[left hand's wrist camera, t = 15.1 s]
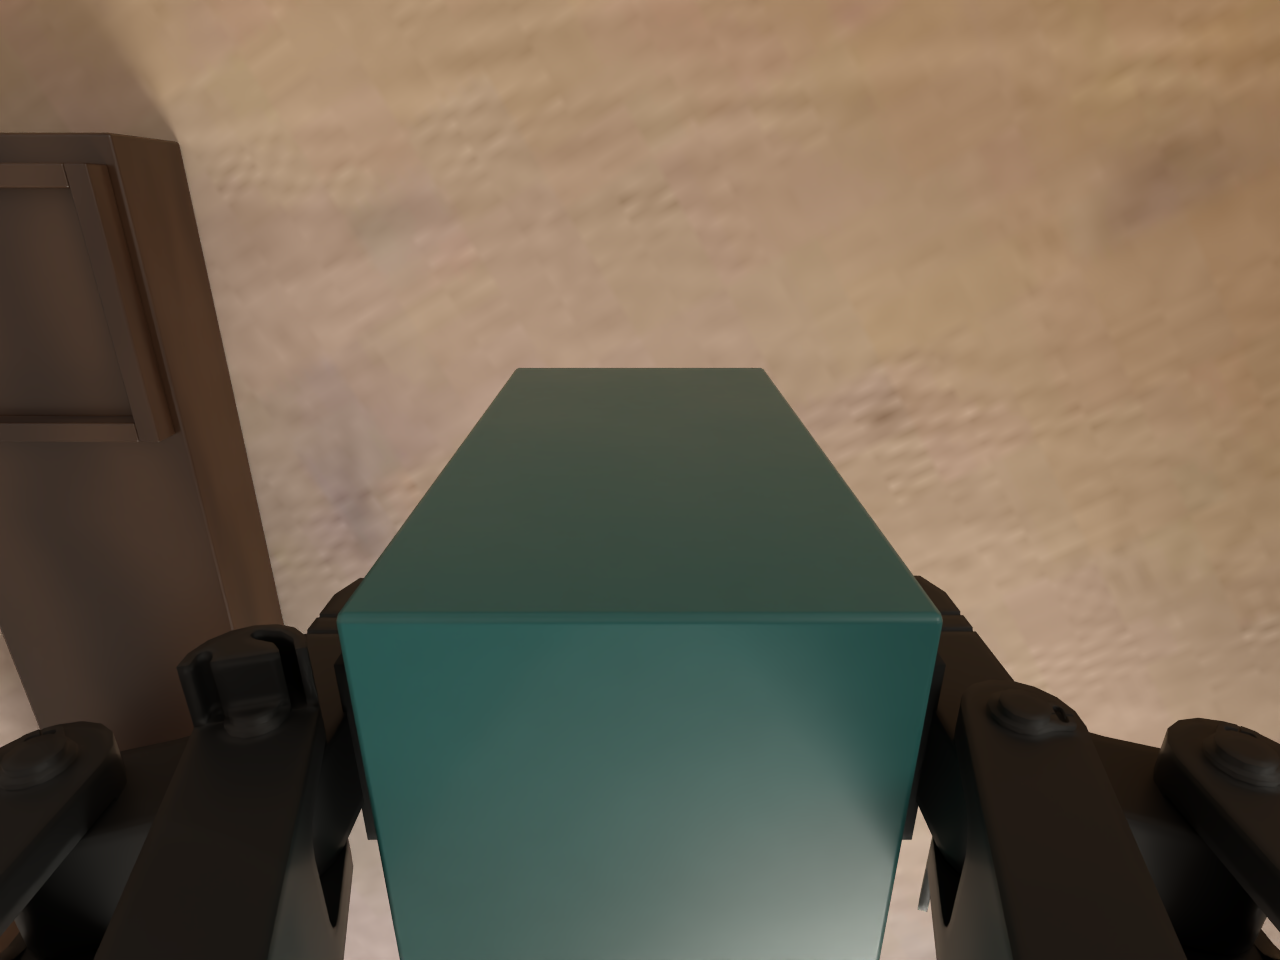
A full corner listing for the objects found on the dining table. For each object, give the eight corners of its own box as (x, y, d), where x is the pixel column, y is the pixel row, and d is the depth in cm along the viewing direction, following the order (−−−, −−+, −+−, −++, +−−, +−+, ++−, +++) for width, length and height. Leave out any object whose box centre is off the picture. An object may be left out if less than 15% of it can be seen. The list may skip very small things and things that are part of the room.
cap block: (764, 367, 16) (948, 617, 6) (749, 584, 18) (871, 1014, 8) (515, 367, 16) (330, 616, 6) (529, 583, 18) (407, 1014, 8)
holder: (180, 142, 21) (-187, 93, 12) (337, 867, 32) (212, 1139, 23) (-86, 141, 21) (-660, 93, 12) (163, 867, 32) (-33, 1137, 23)
